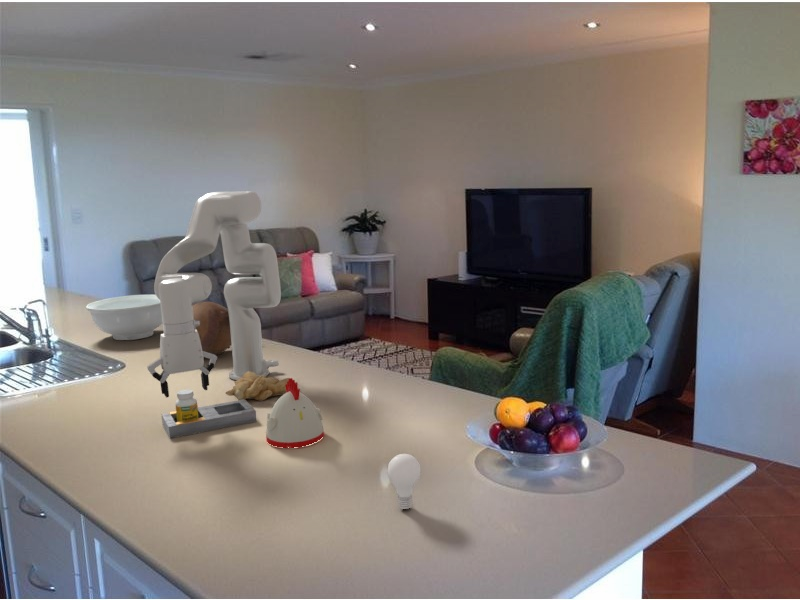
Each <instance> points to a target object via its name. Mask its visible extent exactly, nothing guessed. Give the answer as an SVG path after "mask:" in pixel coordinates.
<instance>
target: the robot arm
mask: <svg viewBox="0 0 800 600" xmlns="http://www.w3.org/2000/svg"><path fill="white" fill-rule="evenodd" d="M261 212H262V200H261V198H260V195H258V194H257V192H255V191H252V190H243V191H242V190H239V191H232V190H231V191H213V192H209V193H206V194H204V195H203V196H201V197H199V198H198V199H197V200H196V202H195V204H194V206H193V210H192V213H191V217H190V220H189V223H188V226H187V231H186V234H185V237H184V238H183V239H182V240H180V241H179V242H178V243H176V244H175V245H174V246H173V247H172V248H171V249H170V250H169V251H168V252H167V253H166V254H165V255H164V256H163V257H162V259H161V261H160V263H159V265H158V268H157V271H156V274H155V279H154V283H153V284H154V286H153V288H154V295H156V296H157V298H158V299H159V300H160V304H161V312H162V321H163V323H162V329H163V333H160V337H159V338H160V339H159V341H160V342H159V355H160V357H159V358H158V359H156V360H155V361H153V362H151V363H150V364H149V365H147V366H146V369H147V371H148V372H149V374H151V376H152V377H153V378H154V379H155V380H157V381H159V382H160V390H161V394H162V395H164V396H165V398H169V397H170V390H169V384H168V380H167V379H168V377H169V376H170V375H175V374H180V373H187V372H192V371H197V370H200V371H201V373H200V378H201V388H202V389H203V390H204V391H208V386H210V382H209V381H210V380H209V378H210V377H209V375H210V373H211V371H212V370H213V368H215V364H216V362H217V360H218V355H214V354H211V353H208V352H205V351H202V346H201V342H200V338H199V334H198V331H197V330H196V329H195V328H196V326H200V321H199V320H198V321H196V320H194V318H193V308H192V305H193V304H196V303H198V302H204V301H206V300H207V299H208V298H209V296H210V295H211V293H212V289H213V284H212V281H211V278H210V277H209V276H208V275H206V274H205V273H202V272H179V270H181V269H182V268H183V267H185V266H186V265H188V264H190V263H193V262H195V261H197V260H199V259H202V258H204V257H206V256H208V255H211V254H212V253H213V252H215V250H216V248H217V246H218V243H219V238H221V239H220V240H221V245H222V253H223V260H224V265H225V268H226V270H227V272H228V273H230V274H232V275H259V276H255V277H254V276H247V277H246V276H245V277H242V276H240V277H233V278H231V279H229V280H227V281H226V283H225V284H224V287H223V295H224V300H225V304H226V308H227V309H228V313H229V321H230V333H231V355H232V369H233V370H231V371H229V372H228V378H229V379H230V380H234V381H237V380H238V379H241V378H243V375H244V374H245V373H246V372H247V371H250V372H254V373H255V374H256V375H257V376H260V377H261V376H263V375H265V376H266V377H267V376H268V375H269V374H270V368H273V367H274V368H275V367H279V359H276V360H273V359H269V360H266V359H264V353H263V338H262V336H263V335H262V324H261V319H260V316H259V315H258V313H257V312H256V311H255V308H256V309H257V308H260V309H261V308H262V309H264V308H266V309H269V308H274V307H277V306H278V305H279V304H280V301H281V297H282V290H281V288H282V287H281V280H280V273H279V270H280V269H279V264H278V257H277V253H276V250H275V248H274V247H273V246H272V245H271V244H270V243H265V242H259V243H258V242H255V243H254V242H252V241H251V235H250V229H249V226H248V224H249V223H251V222H254V221H255V220H256V221H257V219H258V218H259V217H260V214H261ZM204 359H209V362H208V364H206V366H205V360H204ZM159 366H161V369H162V372H161V373H158V372H157V371H156V369H157V368H158V367H159Z"/></svg>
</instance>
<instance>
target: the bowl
mask: <svg viewBox="0 0 800 600" xmlns="http://www.w3.org/2000/svg"><path fill="white" fill-rule="evenodd" d="M85 308H86V310H87V311H89V313H90V315H91V318H92V321H93V323H94V325H95V326H96V327H97V328H98V329H99V330H100V331H102V332H104V333H106V334H109V335H111V336H112V338H113V339H114V340H117V341H133V340H140V339H146V338H149V337H151V336H153V335H154V331H155V330H156V329H157V328H159V327H160V326H161V325H163V321H162V312H161V304H160V300H159V299H158V298H157V296H156V294H131V295H123V296H116V297H110V298H109V297H108V298H105V299H100V300H96V301H93V302H90V303H88V304H87V305H85Z"/></svg>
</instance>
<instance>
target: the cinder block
mask: <svg viewBox="0 0 800 600" xmlns="http://www.w3.org/2000/svg"><path fill="white" fill-rule="evenodd" d="M160 414H161V422H162V423H161V425H162V427H163V429H164V428H165V429H164V430H165V433H166V434H167V436H168V435H169V436H168V438H169V437H170V438H169V439H172V438H171V437H175V438H178V437H177V436H180V437H184V436H183V435H185V436H188V434H190V435H194V433H195V434H199V432H201V433H204V432H203V431H206V432H209V431H208V430H211V431H214V430H213V429H216V430H220V429H219V428H221V429H226V428H231V427H230V426H232V427H235V426H241V425H246V424H252V423H256V422H257V410H256V409H255V408H254V407H253V406H252V405H251V404H250V403H249V402H248V401H247V400H246V399H244V400H238V399H237V400H234V401H227V402H223V403H222V402H221V403H216V404H211V405H206V406H200V407H198V417H199V418H197V419H191V420H186V421H180V422H177V414H176V410H173V411H169V412H167V413H160ZM225 427H226V428H225Z"/></svg>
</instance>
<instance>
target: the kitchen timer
mask: <svg viewBox="0 0 800 600" xmlns="http://www.w3.org/2000/svg"><path fill="white" fill-rule="evenodd" d="M289 378H290V377H289ZM285 387H286V393H284V394H281V396H280V397H279V398H278V399H277V400H276V402H275V404H274V405H273V407H272V408H271V411H270V413H269V412H268V413H267V416H266V432H265V433H266V434H265V436H266V437H265V438H266V442H268V443H269V444H271V445H273V446H277V447H283V448H288V447H289V448H294V447H302V446H306V445H309V444H312V443H314V442H317V441H318V440H320V439H321V438H322V437H323V436H324V437H325V431H324V430H325V428H324V424H323V417H322V413H321V409H320V408H317V407H316V405H315V404H314V403H313V402H312V400H311V399H310V398H309V397H308V396H306V395H305V394H303V393H302V392H301V391H300V390H301V389H300V388H299V386H298V381H297V382H295V379H293V378H292V377H291V378H290V379H289V381H287V384H286V385H285ZM268 443H267V444H268ZM269 444H268V445H269Z"/></svg>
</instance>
